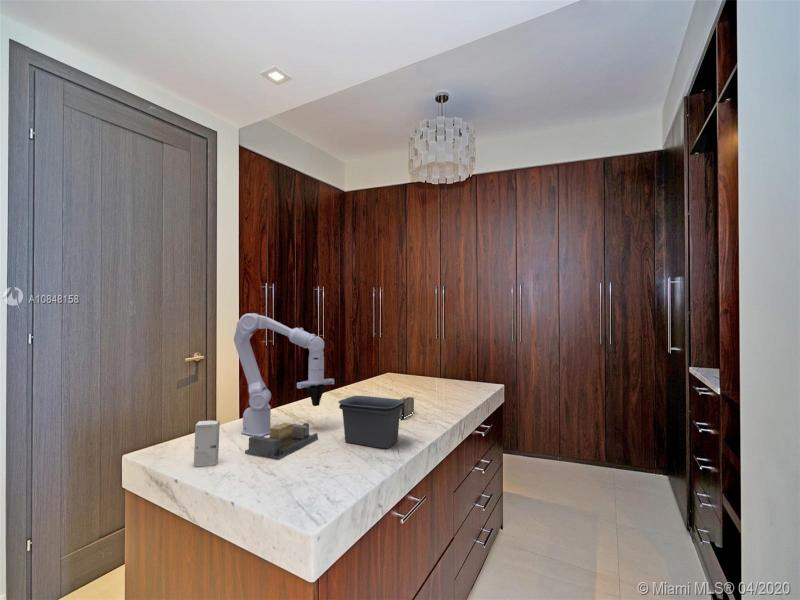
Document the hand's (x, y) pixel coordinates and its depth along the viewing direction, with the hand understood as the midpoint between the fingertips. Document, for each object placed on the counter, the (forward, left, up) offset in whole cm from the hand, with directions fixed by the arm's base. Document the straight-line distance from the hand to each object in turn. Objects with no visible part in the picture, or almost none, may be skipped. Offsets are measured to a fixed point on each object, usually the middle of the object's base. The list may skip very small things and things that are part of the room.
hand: (315, 405), depth 151 cm
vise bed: (0, -18, -9) cm, 21 cm away
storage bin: (+25, -2, -10) cm, 27 cm away
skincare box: (-11, -40, -10) cm, 42 cm away
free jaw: (0, -10, -8) cm, 13 cm away
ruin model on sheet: (+24, +31, -10) cm, 41 cm away
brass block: (0, -20, -8) cm, 21 cm away
